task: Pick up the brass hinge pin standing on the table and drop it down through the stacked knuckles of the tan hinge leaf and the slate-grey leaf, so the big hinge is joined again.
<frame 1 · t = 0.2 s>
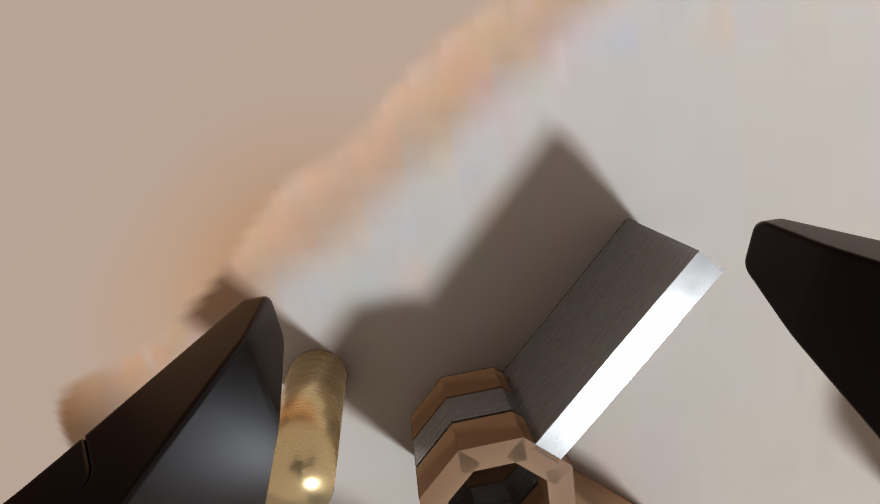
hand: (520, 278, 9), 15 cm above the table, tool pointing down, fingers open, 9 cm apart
tan hinge leaf: (475, 425, 28), on the table
brass pin: (317, 376, 26), on the table
slate leaf: (475, 425, 28), on the table
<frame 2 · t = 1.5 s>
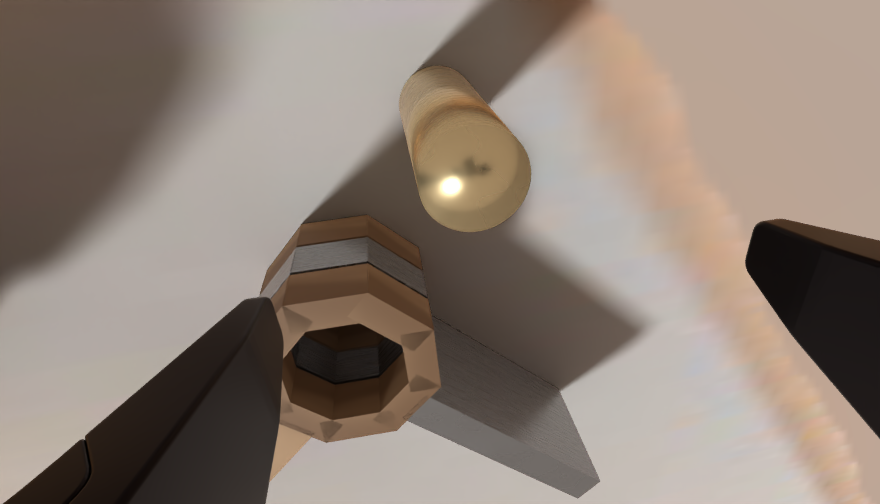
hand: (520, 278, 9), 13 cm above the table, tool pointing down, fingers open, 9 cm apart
tan hinge leaf: (349, 284, 24), on the table
brass pin: (436, 105, 20), on the table
slate leaf: (349, 284, 24), on the table
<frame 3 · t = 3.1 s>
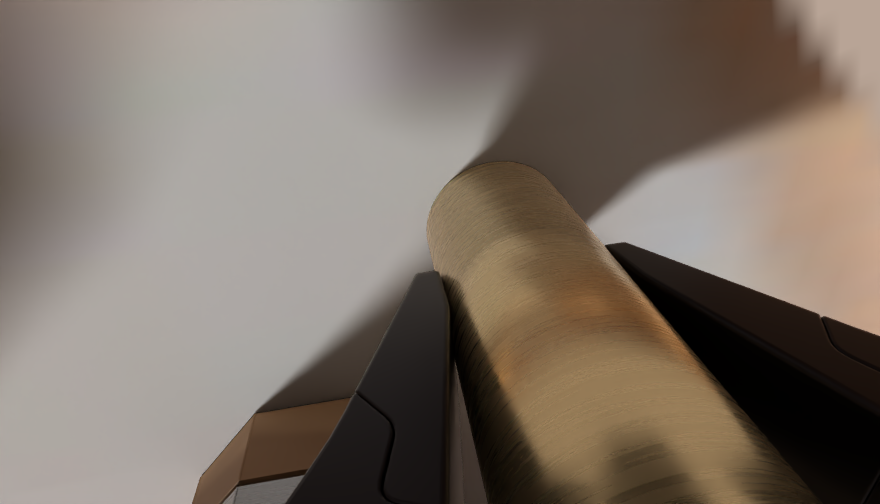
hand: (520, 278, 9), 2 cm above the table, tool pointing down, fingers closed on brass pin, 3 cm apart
tan hinge leaf: (338, 486, 14), on the table
brass pin: (495, 227, 11), on the table, touching gripper
slate leaf: (338, 486, 14), on the table
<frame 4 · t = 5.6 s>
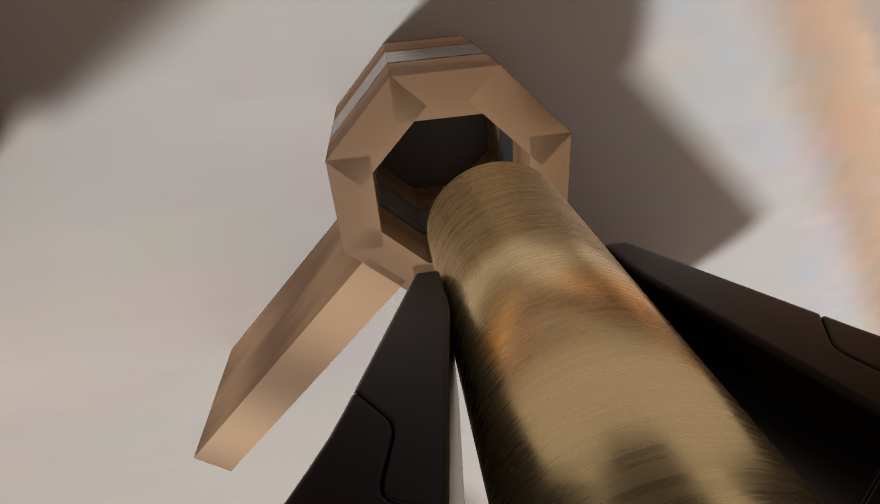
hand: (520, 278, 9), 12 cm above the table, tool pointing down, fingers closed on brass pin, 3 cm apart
tan hinge leaf: (431, 133, 20), on the table
brass pin: (495, 227, 11), point 10 cm above the table, touching gripper
slate leaf: (431, 133, 20), on the table
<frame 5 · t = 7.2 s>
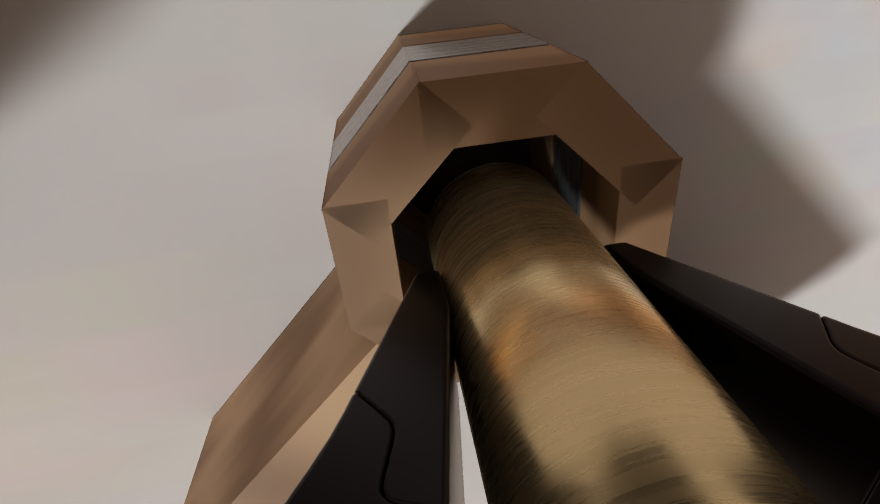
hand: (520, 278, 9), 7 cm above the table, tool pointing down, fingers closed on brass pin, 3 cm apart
tan hinge leaf: (459, 151, 15), on the table
brass pin: (495, 227, 11), point 5 cm above the table, touching gripper
slate leaf: (459, 151, 15), on the table
when the fingers open (7 cm above the table, at t = 8.1 s): brass pin drops 5 cm, resting in tan hinge leaf.
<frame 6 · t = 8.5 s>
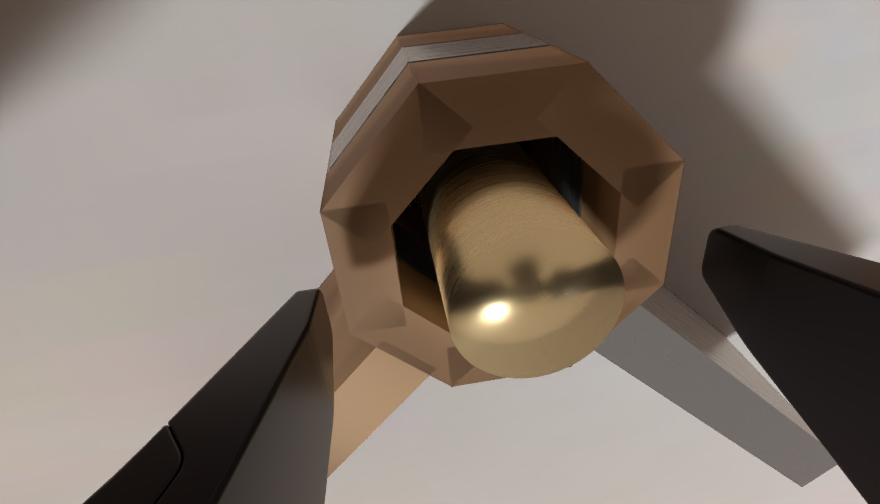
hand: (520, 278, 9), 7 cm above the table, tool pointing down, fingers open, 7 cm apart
tan hinge leaf: (459, 152, 15), on the table
brass pin: (458, 152, 15), resting in tan hinge leaf
slate leaf: (459, 152, 15), on the table
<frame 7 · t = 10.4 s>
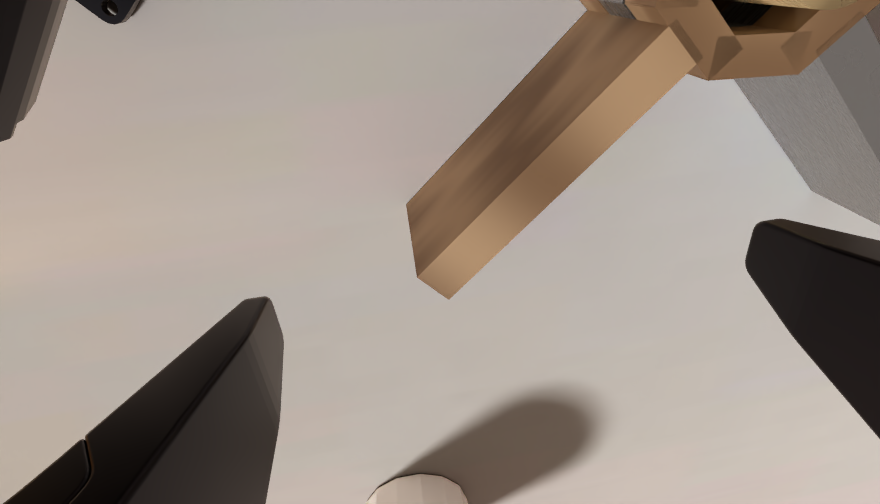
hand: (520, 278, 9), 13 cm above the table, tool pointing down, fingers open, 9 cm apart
white cup: (415, 502, 33), on the table
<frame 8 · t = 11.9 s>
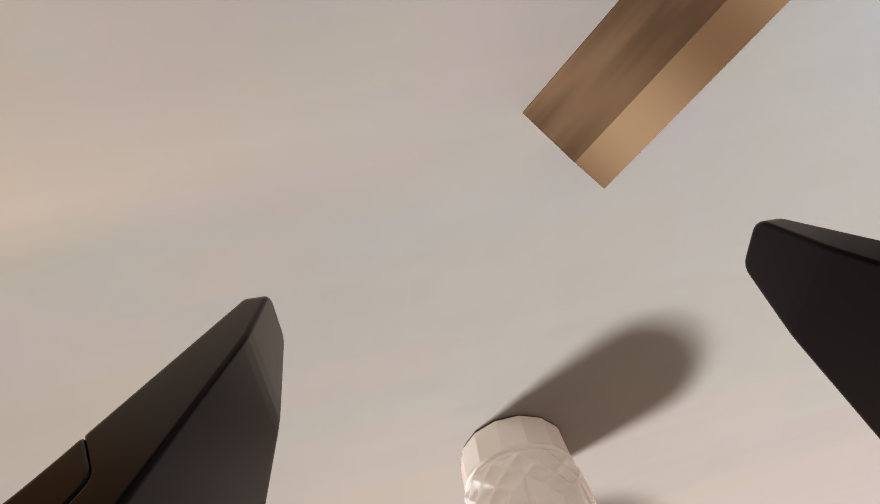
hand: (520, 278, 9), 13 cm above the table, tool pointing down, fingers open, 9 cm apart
white cup: (510, 448, 32), on the table
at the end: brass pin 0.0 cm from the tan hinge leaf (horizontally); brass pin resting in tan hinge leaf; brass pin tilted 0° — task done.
